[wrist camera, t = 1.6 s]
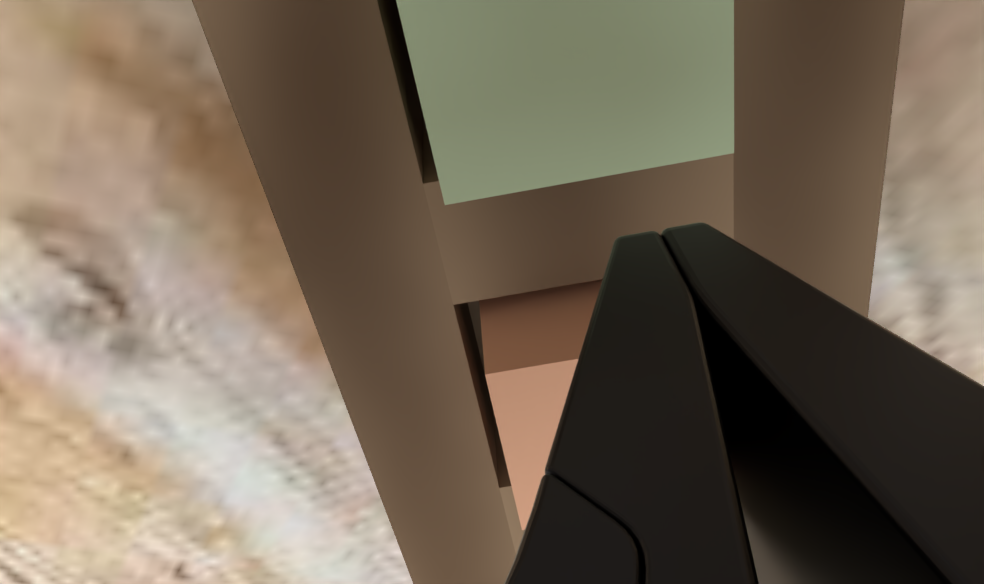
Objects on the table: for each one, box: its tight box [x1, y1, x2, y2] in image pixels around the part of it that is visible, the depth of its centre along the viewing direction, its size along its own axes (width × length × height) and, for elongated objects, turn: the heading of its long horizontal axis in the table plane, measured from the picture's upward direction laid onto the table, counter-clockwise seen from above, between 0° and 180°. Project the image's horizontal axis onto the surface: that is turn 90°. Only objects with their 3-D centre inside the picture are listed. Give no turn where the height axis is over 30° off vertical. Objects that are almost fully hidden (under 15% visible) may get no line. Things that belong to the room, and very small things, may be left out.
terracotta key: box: [479, 279, 603, 530], centre depth 20 cm, size 5×5×3 cm
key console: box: [192, 0, 905, 584], centre depth 22 cm, size 12×28×4 cm, turn 10°
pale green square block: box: [396, 0, 734, 205], centre depth 14 cm, size 5×5×3 cm
